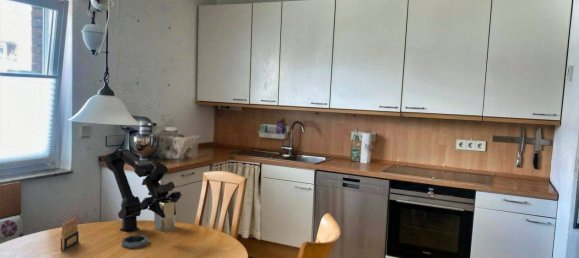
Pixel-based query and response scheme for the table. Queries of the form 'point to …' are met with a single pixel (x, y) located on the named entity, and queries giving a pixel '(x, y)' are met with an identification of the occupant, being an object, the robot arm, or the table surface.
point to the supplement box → (159, 220)
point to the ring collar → (134, 242)
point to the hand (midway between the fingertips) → (169, 216)
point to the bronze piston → (167, 216)
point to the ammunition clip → (69, 233)
